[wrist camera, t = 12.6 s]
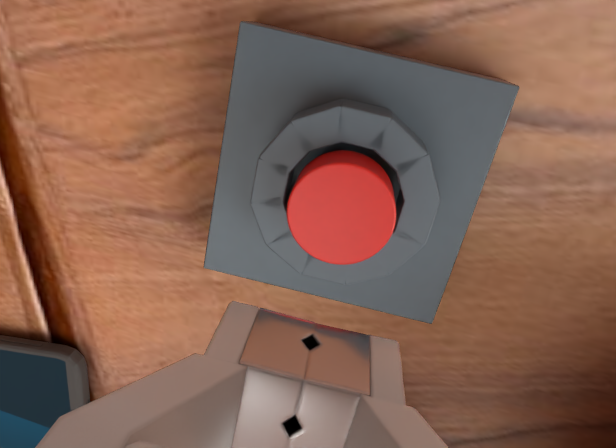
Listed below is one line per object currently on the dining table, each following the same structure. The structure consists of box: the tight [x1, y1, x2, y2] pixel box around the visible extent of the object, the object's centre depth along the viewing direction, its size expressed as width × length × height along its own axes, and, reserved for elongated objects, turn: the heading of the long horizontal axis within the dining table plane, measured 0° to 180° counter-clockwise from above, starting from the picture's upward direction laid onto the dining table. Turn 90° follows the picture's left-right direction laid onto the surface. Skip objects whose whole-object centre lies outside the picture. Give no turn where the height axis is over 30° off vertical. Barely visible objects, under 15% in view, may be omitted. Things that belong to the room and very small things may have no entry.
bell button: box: [287, 150, 396, 265], centre depth 17 cm, size 4×4×2 cm
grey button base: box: [204, 21, 519, 324], centre depth 19 cm, size 10×10×4 cm
